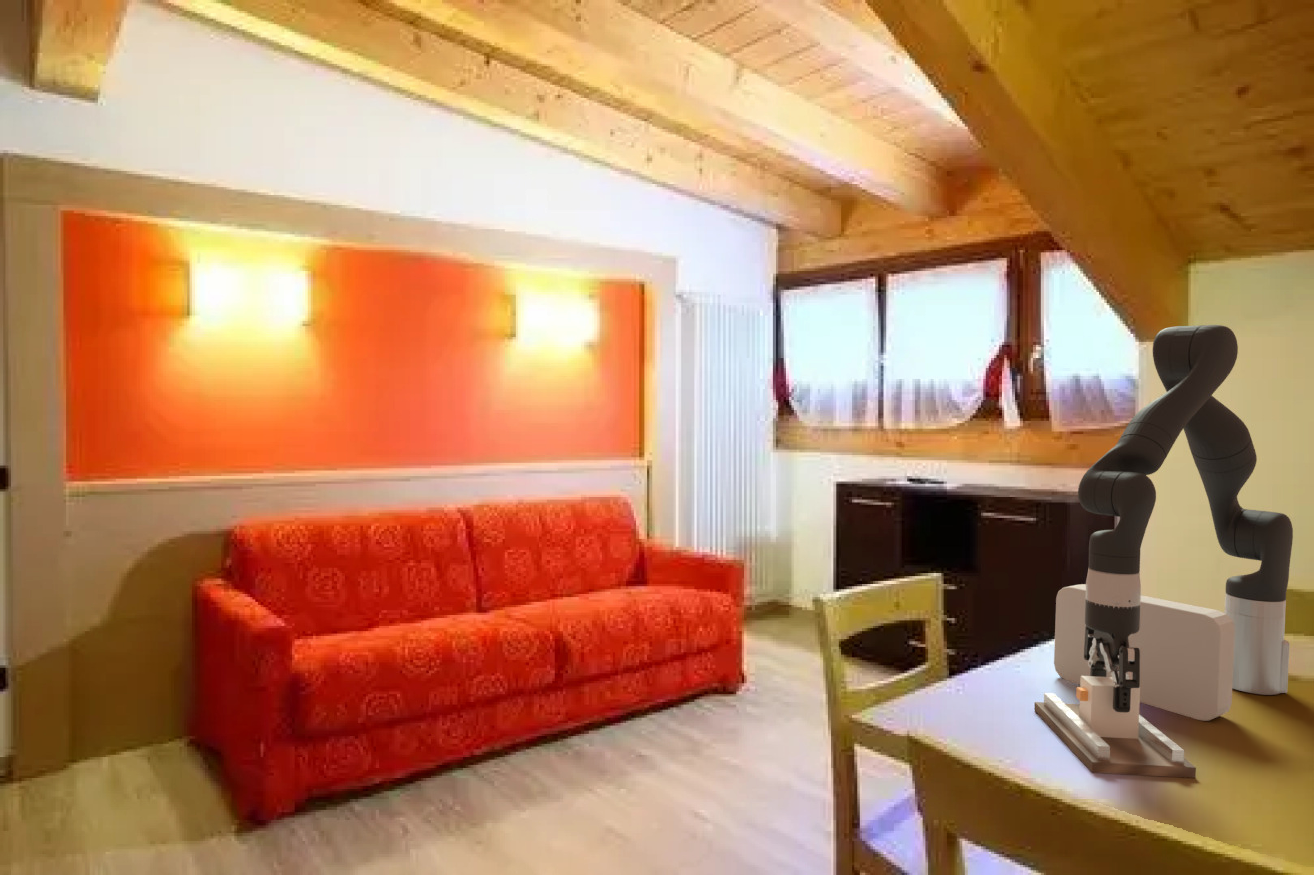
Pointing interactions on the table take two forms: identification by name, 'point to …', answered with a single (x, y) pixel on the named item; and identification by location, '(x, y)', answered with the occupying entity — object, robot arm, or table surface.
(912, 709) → the table surface
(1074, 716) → the mounting rail
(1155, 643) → the rounded white slab
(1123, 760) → the mounting board
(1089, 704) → the block
